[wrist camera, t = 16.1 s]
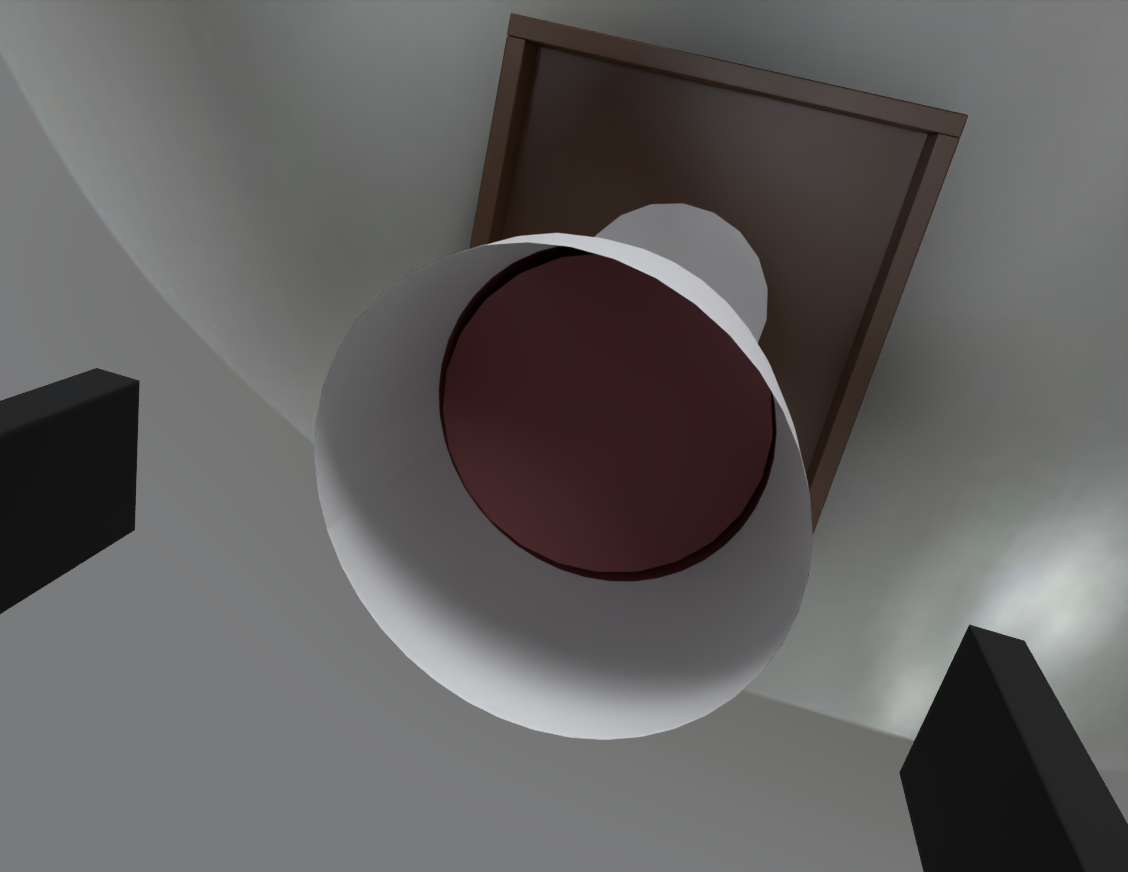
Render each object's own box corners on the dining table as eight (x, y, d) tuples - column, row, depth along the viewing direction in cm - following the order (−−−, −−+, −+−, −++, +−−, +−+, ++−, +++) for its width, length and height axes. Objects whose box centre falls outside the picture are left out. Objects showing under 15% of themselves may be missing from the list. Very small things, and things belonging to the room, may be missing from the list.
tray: (527, 22, 35) (510, 12, 32) (952, 117, 33) (968, 115, 30) (449, 446, 42) (431, 464, 39) (795, 548, 40) (798, 573, 37)
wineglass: (710, 146, 34) (645, 133, 13) (813, 358, 36) (904, 654, 15) (524, 252, 37) (222, 383, 16) (628, 443, 39) (482, 790, 18)
